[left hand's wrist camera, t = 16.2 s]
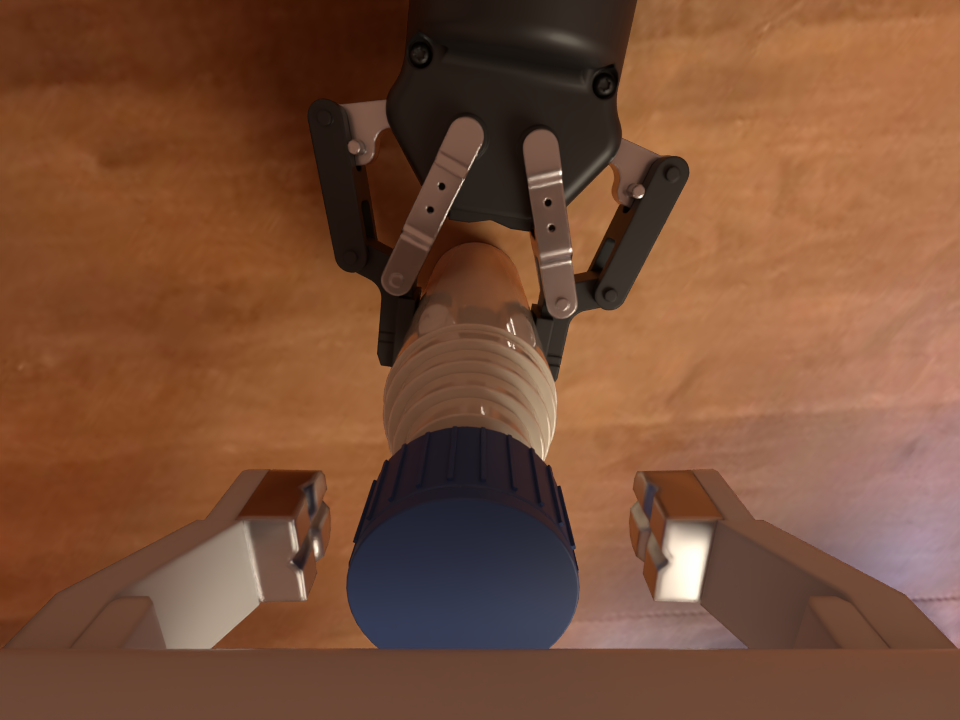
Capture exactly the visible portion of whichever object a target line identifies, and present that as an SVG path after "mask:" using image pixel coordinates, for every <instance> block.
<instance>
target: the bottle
mask: <svg viewBox="0 0 960 720" xmlns="http://www.w3.org/2000/svg"><path fill="white" fill-rule="evenodd" d="M383 402H384V407H383V424H384V429H385V434H386V436H387V439H388V444H389V449H390V452H391V454H392V456H393V455H394V454H395V453H396V452H397V451H398V450H399V449H401V447H402V445H403V444H404V443H406V444H408V443H409V442H411V441H413V440H414V439H416V438H418V437H420V436H422V435H425V433H426V432H429V431H430V432H433V431H436V430H441V429H445V428H452V427H453V426H457V427H461V426H464V427H465V426H469V427H479V428H481V427H485V428H486V429H490V430H495V431H498V432H502V433H505V434H506V435H508V434H510V435H512V437H513V438H515V439H517V440H519V441H520V442H522V443H523V444H525V445H526V446H528V447H529V448H531V447H532V448H533V449H535V453H536V454H537V455H538V456H539V457H540V458H541V459H542V460H543V461H545V459H546V456H547V454H548V451H549V447H550V445H551V442H552V439H553V437H554V433H555V428H556V420H557V391H556V387H555V382H554V379H553V376H552V373H551V370H550V367H549V364H548V361H547V358H546V355H545V352H544V349H543V346H542V343H541V340H540V337H539V334H538V331H537V328H536V325H535V322H534V319H533V316H532V313H531V310H530V307H529V304H528V301H527V298H526V295H525V292H524V289H523V286H522V283H521V280H520V277H519V274H518V272H517V269H516V267H515V265H514V263H513V262H512V261H511V259H510V258H509V257H508V256H507V255H506V254H505V253H504V252H502V251H501V250H499V249H498V248H496V247H494V246H492V245H489V244H485V243H479V242H471V243H465V244H461V245H458V246H456V247H454V248H452V249H450V250H449V251H448V252H446V253H445V254H444V255H443V256H442V257H441V258H440V259H439V261H438V262H437V264H436V265H435V267H434V269H433V272H432V274H431V276H430V279H429V281H428V283H427V286H426V288H425V290H424V293H423V295H422V297H421V300H420V302H419V304H418V307H417V309H416V311H415V314H414V316H413V318H412V321H411V323H410V325H409V328H408V330H407V333H406V335H405V337H404V340H403V342H402V344H401V347H400V349H399V351H398V354H397V356H396V358H395V361H394V363H393V365H392V368H391V370H390V373H389V375H388V378H387V380H386V385H385V389H384V399H383Z"/></svg>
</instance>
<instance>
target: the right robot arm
mask: <svg viewBox="0 0 960 720" xmlns="http://www.w3.org/2000/svg"><path fill="white" fill-rule="evenodd" d="M636 3H637V0H409V12H408V24H407V36H406V49H405V57H404V62H403V66H402V69H401V72H400V74H399V76H398V78H397V80H396V81H395V83H394V85H393V86H392V87H391V89H390V91H389V93H388V96H387V100H378V101H369V102H360V103H350V104H339V103H336V102H334V101H331V100H328V99H318V100H316V101H315V102H313V103H312V104H311V106H310V107H309V110H308V123H309V128H310V133H311V138H312V143H313V148H314V153H315V158H316V163H317V168H318V173H319V179H320V184H321V189H322V194H323V199H324V204H325V209H326V214H327V219H328V224H329V229H330V234H331V240H332V245H333V250H334V255H335V259H336V262H337V264H338V266H339V267H340V268H341V269H343V270H344V271H347V272H351V273H354V272H356V273H358V274H360V275H362V276H364V277H366V278H368V279H370V280H372V281H373V282H374V283H375V284H376V285H377V286H378V288H379V290H380V292H381V311H380V324H379V336H378V349H377V355H378V358H379V361H380V364H381V365H382V366H389V367H392V365H393V363H394V361H395V358H396V356H397V354H398V351H399V349H400V347H401V344H402V342H403V340H404V337H405V335H406V333H407V330H408V328H409V325H410V323H411V321H412V318H413V316H414V314H415V311H416V309H417V307H418V304H419V302H420V297H421V287H417V277H418V274H419V272H420V270H421V268H422V266H423V264H424V262H425V260H426V258H427V256H428V254H429V252H430V250H431V248H432V246H433V244H434V242H435V240H436V238H437V236H438V234H439V232H440V230H441V228H442V226H443V224H444V222H445V220H446V218H447V216H448V217H449V220H456V221H462V222H477V221H486V220H492V221H494V222H497V223H499V224H501V225H503V226H506V227H508V228H510V229H515V230H522V231H529V233H530V239H531V244H532V249H533V253H534V258H535V264H536V270H537V276H538V282H539V288H540V295H539V300H538V304H532V307H531V313H532V316H533V319H534V322H535V325H536V328H537V331H538V334H539V337H540V340H541V343H542V346H543V349H544V352H545V355H546V358H547V361H548V364H549V367H550V370H551V373H552V376H553V379H554V382H555V381H556V380H557V378H558V373H559V368H560V364H561V359H562V355H563V350H564V345H565V341H566V336H567V332H568V327H569V324H570V321H571V320H572V318H573V317H574V316H575V315H577V314H578V313H580V312H582V311H586V310H591V309H596V308H602V309H604V310H614V309H617V308H618V307H620V306H621V305H622V304H623V302H624V301H625V299H626V297H627V295H628V293H629V291H630V289H631V287H632V285H633V283H634V281H635V280H636V278H637V276H638V274H639V272H640V270H641V268H642V266H643V264H644V262H645V260H646V258H647V257H648V255H649V253H650V251H651V249H652V247H653V245H654V243H655V241H656V239H657V237H658V235H659V234H660V232H661V230H662V228H663V226H664V224H665V222H666V220H667V218H668V216H669V214H670V212H671V211H672V209H673V207H674V205H675V203H676V201H677V199H678V197H679V195H680V193H681V191H682V189H683V187H684V186H685V184H686V182H687V180H688V177H689V167H688V164H687V162H686V161H685V160H684V159H683V158H681V157H678V156H670V155H662V156H661V155H658V154H656V153H654V152H652V151H649V150H647V149H645V148H643V147H641V146H639V145H636V144H634V143H632V142H630V141H628V140H626V139H623V138H622V129H621V125H620V121H619V118H618V113H617V91H618V86H619V82H620V77H621V72H622V68H623V63H624V59H625V54H626V49H627V45H628V40H629V35H630V31H631V26H632V22H633V17H634V12H635V8H636ZM388 130H392V132H393V134H394V136H395V137H396V139H397V141H398V143H399V145H400V147H401V149H402V151H403V152H404V154H405V156H406V158H407V160H408V162H409V164H410V165H411V167H412V169H413V171H414V173H415V175H416V177H417V179H418V180H419V182H420V184H421V186H422V188H421V190H420V192H419V195H418V197H417V199H416V201H415V203H414V205H413V207H412V209H411V211H410V214H409V216H408V218H407V220H406V222H405V224H404V227H403V229H402V232H401V235H400V237H399V239H398V241H397V243H396V245H395V248H394V249H392V248H390V247H388V246H387V245H385V244H383V243H381V242H379V241H378V240H377V234H376V228H375V222H374V216H373V209H372V203H371V197H370V191H369V185H368V179H367V173H366V167H365V165H369V164H371V163H373V162H374V161H375V160H376V159H377V157H378V155H379V143H380V139H381V137H382V136H383V134H384V133H385V132H387V131H388ZM607 165H609V166H610V167H611V168H612V170H613V172H614V182H613V186H612V196H613V198H614V200H615V201H616V202H617V203H619V204H620V205H619V207H618V209H617V211H616V213H615V215H614V217H613V219H612V221H611V223H610V225H609V228H608V230H607V232H606V234H605V236H604V238H603V240H602V242H601V244H600V246H599V248H598V250H597V252H596V254H595V256H594V259H593V261H592V263H591V265H590V267H589V269H588V271H587V272H584V273H579V274H574V273H573V266H572V245H571V238H570V231H569V224H568V217H567V210H566V207H567V206H568V205H569V204H570V203H571V202H572V201H573V200H574V199H575V198H576V197H577V196H578V195H579V194H580V193H581V192H582V191H583V190H584V189H585V188H586V187H587V186H588V185H589V184H590V183H591V182H592V181H593V180H594V179H595V178H596V177H597V176H598V175H599V174H600V173H601V172H602V171H603V170H604V169H605V168H606V167H607Z"/></svg>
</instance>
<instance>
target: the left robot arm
mask: <svg viewBox="0 0 960 720" xmlns="http://www.w3.org/2000/svg"><path fill="white" fill-rule="evenodd" d="M326 490H327V485H326V479H325V475H324V473H323V472H322V471H321V470H270V469H248V470H245V471H242V472H241V473H240V475H239V476H238V477H237V479H236V480H235V481H234V483H233V484H232V485H231V486H230V488H229V489H228V490H227V492H226V493H225V494H224V496H223V497H222V498H221V499H220V501H219V502H218V503H217V505H216V506H215V507H214V509H213V510H212V511H211V512H210V514H209V515H208V516H207V518H206V519H205V520H196V521H194V522H192V523H190V524H188V525H186V526H184V527H183V528H181V529H179V530H177V531H175V532H173V533H171V534H169V535H167V536H165V537H164V538H162V539H160V540H158V541H156V542H154V543H152V544H150V545H148V546H146V547H144V548H143V549H141V550H139V551H137V552H135V553H133V554H131V555H129V556H127V557H125V558H124V559H122V560H120V561H118V562H116V563H114V564H112V565H110V566H108V567H106V568H104V569H103V570H101V571H99V572H97V573H95V574H93V575H91V576H89V577H87V578H85V579H83V580H82V581H80V582H78V583H76V584H74V585H72V586H70V587H68V588H66V589H64V590H63V591H61V592H59V593H57V594H55V595H54V596H53V597H52V598H51V599H50V600H49V601H48V602H47V604H46V605H45V606H44V607H43V608H42V609H41V610H40V611H39V612H38V613H37V614H36V615H35V616H34V617H33V618H32V619H31V620H30V621H29V622H28V623H27V624H26V625H25V626H24V627H23V628H22V629H21V630H20V631H19V632H18V633H17V634H16V635H15V636H14V637H13V638H12V639H11V640H10V641H9V642H8V643H7V644H6V645H5V646H4V647H3V648H2V649H0V720H960V649H958V648H957V647H956V646H955V645H954V644H953V643H952V642H951V641H950V640H949V639H948V638H947V637H946V636H945V635H944V634H943V633H942V632H941V631H940V630H939V629H938V628H937V627H936V626H935V625H934V624H933V623H932V622H931V621H930V620H929V619H928V618H927V617H926V616H925V614H924V613H923V612H922V611H921V610H920V609H919V608H918V607H917V606H916V605H915V604H914V603H913V602H912V601H911V600H910V599H909V598H908V597H907V596H906V595H905V594H903V593H901V592H899V591H897V590H895V589H893V588H891V587H889V586H888V585H886V584H884V583H882V582H880V581H878V580H876V579H874V578H872V577H870V576H869V575H867V574H865V573H863V572H861V571H859V570H857V569H855V568H853V567H851V566H850V565H848V564H846V563H844V562H842V561H840V560H838V559H836V558H834V557H832V556H831V555H829V554H827V553H825V552H823V551H821V550H819V549H817V548H815V547H813V546H812V545H810V544H808V543H806V542H804V541H802V540H800V539H798V538H796V537H794V536H793V535H791V534H789V533H787V532H785V531H783V530H781V529H779V528H777V527H775V526H774V525H772V524H770V523H768V522H766V521H764V520H755V519H754V518H753V516H752V515H751V514H750V512H749V511H748V510H747V509H746V507H745V506H744V505H743V503H742V502H741V501H740V500H739V498H738V497H737V496H736V494H735V493H734V492H733V491H732V489H731V488H730V487H729V485H728V484H727V483H726V482H725V480H724V479H723V478H722V476H721V475H720V474H719V472H718V471H716V470H714V469H699V470H675V471H637V473H636V475H635V478H634V485H633V490H634V493H635V495H636V497H637V499H638V500H637V502H636V503H635V504H634V505H633V506H632V507H631V508H630V518H629V528H630V538H631V542H632V547H633V549H634V552H635V555H636V556H637V557H638V558H639V559H641V560H642V561H643V562H644V569H643V575H644V578H645V580H646V583H647V585H648V587H649V590H650V592H651V595H652V597H653V600H654V601H669V602H701V604H700V605H702V606H703V607H704V608H705V609H706V610H707V611H708V612H709V613H710V614H712V615H713V616H714V617H715V618H716V619H717V620H718V621H719V622H720V623H722V624H723V625H724V626H725V627H726V628H727V629H728V630H729V631H730V632H732V633H733V634H734V635H735V636H736V637H737V638H738V639H739V640H740V641H742V642H743V643H744V644H745V645H746V646H747V647H748V648H749V649H211V648H212V647H213V646H214V645H215V644H216V643H218V642H219V641H220V640H221V639H222V638H223V637H224V636H225V635H226V634H228V633H229V632H230V631H231V630H232V629H233V628H234V627H235V626H236V625H238V624H239V623H240V622H241V621H242V620H243V619H244V618H245V617H246V616H248V615H249V614H250V613H251V612H252V611H253V610H254V609H255V608H256V607H258V606H259V602H289V601H306V600H307V598H308V595H309V593H310V590H311V588H312V585H313V583H314V580H315V578H316V575H317V569H316V562H317V561H318V560H319V559H321V558H322V557H323V556H324V555H325V552H326V549H327V547H328V543H329V537H330V531H331V517H330V508H329V507H328V506H327V505H326V504H325V503H324V502H323V500H322V499H323V497H324V495H325V493H326Z"/></svg>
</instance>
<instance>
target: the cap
mask: <svg viewBox="0 0 960 720" xmlns="http://www.w3.org/2000/svg"><path fill="white" fill-rule="evenodd" d="M353 542H354V543H355V545H354V549H353V552H352V555H351V558H350V561H349V569H348V574H347V586H346V589H347V597H348V602H349V606H350V609H351V612H352V614H353V616H354V619H355V621H356V623H357V624H358V626H359V627H360V629H361V630H362V632H363V633H364V634H365V635H366V637H367V638H368V639H369V640H370V641H371V642H372V643H373V644H374V645H375V646H377V647H378V648H379V649H549V648H550V647H551V646H552V645H553V644H554V643H555V642H557V640H558V639H559V638H560V637H561V636H562V634H563V633H564V632H565V630H566V629H567V627H568V626H569V624H570V622H571V620H572V618H573V616H574V613H575V611H576V607H577V603H578V599H579V576H578V571H579V569H578V565H577V561H576V557H575V553H574V549H576V547H575V543H574V539H573V535H572V530H571V526H570V522H569V518H568V514H567V510H566V506H565V502H564V498H563V494H562V490H561V486H557V484H556V482H555V479H554V477H553V473H552V468H551V466H550V465H548V466H547V465H546V464H545V462H544V461H543V460H542V459H541V458H540V457H539V456H538V455H537V454H536V453H535V449H533V448H532V447H531V448H529V447H528V446H526V445H525V444H523V443H522V442H520V441H519V440H517V439H515V438H513V437H512V435H510V434H508V435H506V434H505V433H502V432H498V431H495V430H490V429H486V428H485V427H481V428H479V427H469V426H465V427H464V426H461V427H457V426H453V427H452V428H445V429H441V430H436V431H433V432H430V431H429V432H426V433H425V435H422V436H420V437H418V438H416V439H414V440H413V441H411V442H409V443H408V444H406V443H404V444H403V445H402V447H401V449H399V450H398V451H397V452H396V453H395V454H394V455H393V456H392V457H391V458H390V459H389V461H388V460H385V462H384V464H383V467H382V470H381V473H380V474H379V477H378V479H377V481H376V480H373V483H372V486H371V489H370V492H369V495H368V498H367V501H366V504H365V507H364V510H363V513H362V516H361V519H360V522H359V525H358V528H357V531H356V534H355V537H354V540H353Z"/></svg>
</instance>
